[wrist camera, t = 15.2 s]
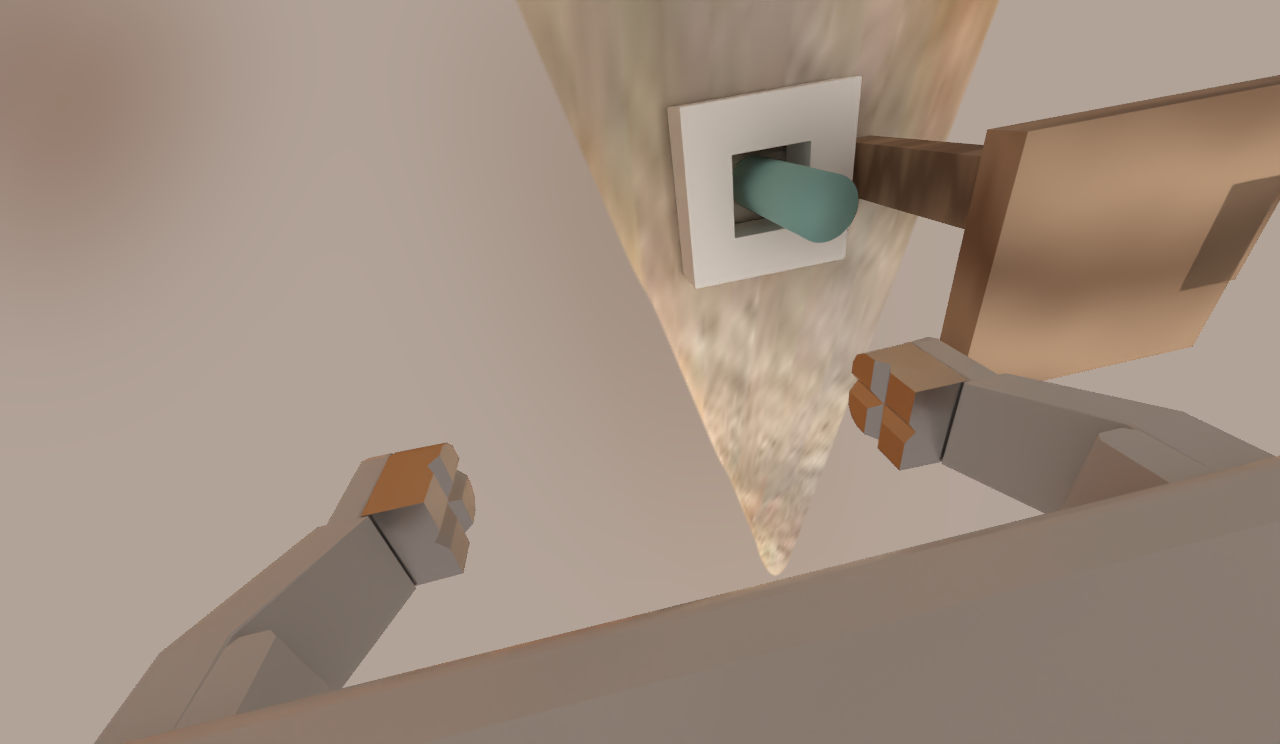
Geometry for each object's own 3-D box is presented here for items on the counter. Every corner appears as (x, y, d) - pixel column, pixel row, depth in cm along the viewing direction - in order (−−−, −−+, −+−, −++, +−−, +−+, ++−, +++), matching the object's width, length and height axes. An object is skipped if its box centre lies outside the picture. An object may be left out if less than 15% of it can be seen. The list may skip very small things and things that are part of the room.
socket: (666, 107, 34) (679, 107, 30) (831, 78, 35) (862, 75, 31) (683, 273, 41) (695, 289, 37) (821, 246, 41) (845, 258, 38)
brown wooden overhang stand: (738, 117, 35) (1028, 132, 14) (875, 93, 36) (1353, 70, 14) (741, 245, 40) (956, 400, 19) (861, 221, 41) (1197, 345, 20)
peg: (728, 160, 36) (796, 180, 26) (775, 151, 37) (861, 167, 26) (730, 211, 38) (794, 248, 28) (775, 202, 39) (855, 236, 28)
